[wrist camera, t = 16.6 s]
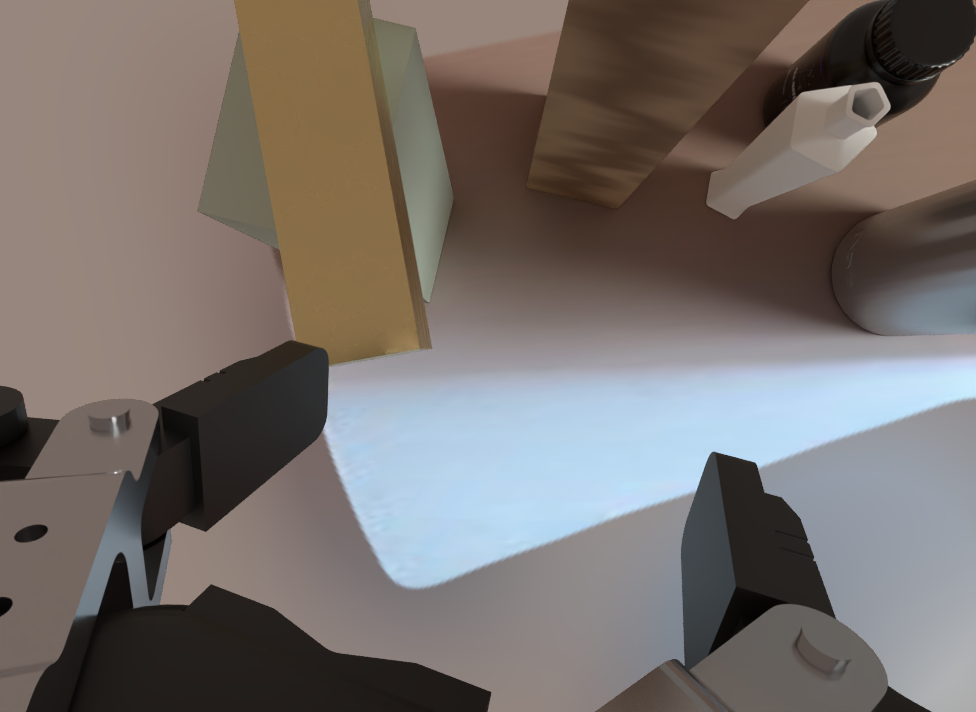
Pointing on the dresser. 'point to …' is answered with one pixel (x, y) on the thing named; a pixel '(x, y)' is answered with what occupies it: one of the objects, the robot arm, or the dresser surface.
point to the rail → (334, 177)
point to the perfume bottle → (800, 146)
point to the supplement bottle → (882, 53)
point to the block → (428, 193)
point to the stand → (640, 86)
